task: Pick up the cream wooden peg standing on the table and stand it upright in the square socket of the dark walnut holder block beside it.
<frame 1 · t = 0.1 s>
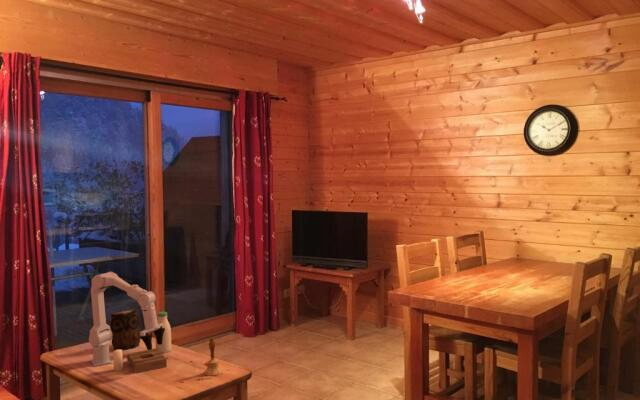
hand: (155, 347, 243), 11 cm above the table, tool pointing down, fingers open, 7 cm apart
hand bell: (213, 373, 239), on the table
cream peg: (118, 369, 244), on the table
milk bottle: (163, 351, 270), on the table
walnut holder: (146, 364, 251), on the table
owl: (126, 347, 277), on the table
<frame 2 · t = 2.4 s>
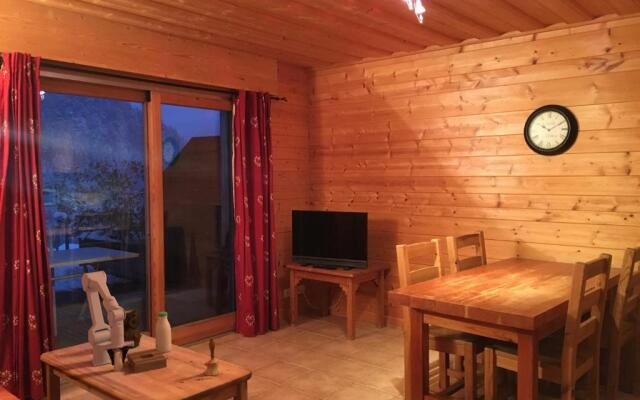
hand: (118, 363, 244), 3 cm above the table, tool pointing down, fingers closed on cream peg, 4 cm apart
cream peg: (118, 369, 244), on the table, touching gripper
everything else where it was.
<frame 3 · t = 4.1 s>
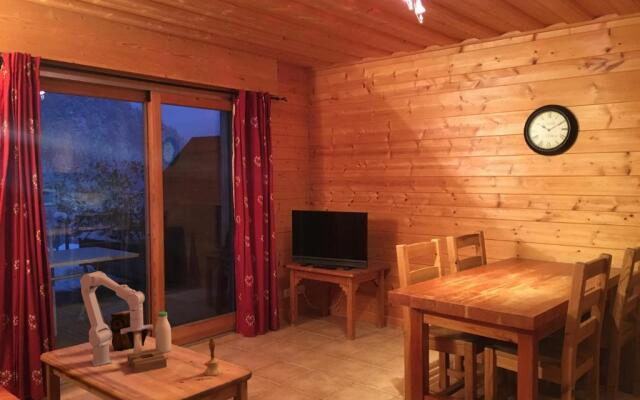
hand: (137, 346, 248), 10 cm above the table, tool pointing down, fingers closed on cream peg, 4 cm apart
cream peg: (137, 352, 248), point 7 cm above the table, touching gripper
everything else where it was.
when the fingers open (5 cm above the table, at t = 6.1 s): cream peg drops 2 cm, resting in walnut holder.
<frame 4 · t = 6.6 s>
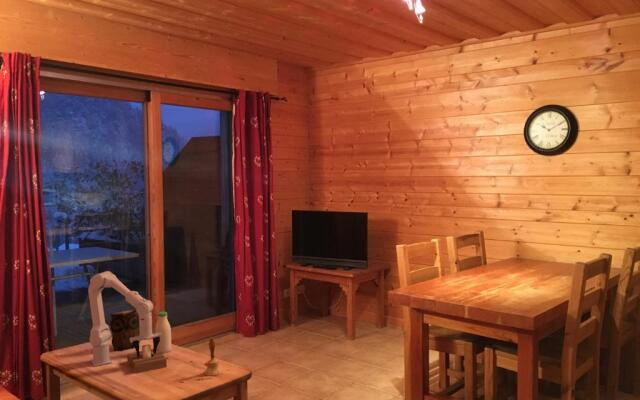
hand: (146, 354, 250), 5 cm above the table, tool pointing down, fingers open, 7 cm apart
cream peg: (146, 364, 250), resting in walnut holder
everything else where it was.
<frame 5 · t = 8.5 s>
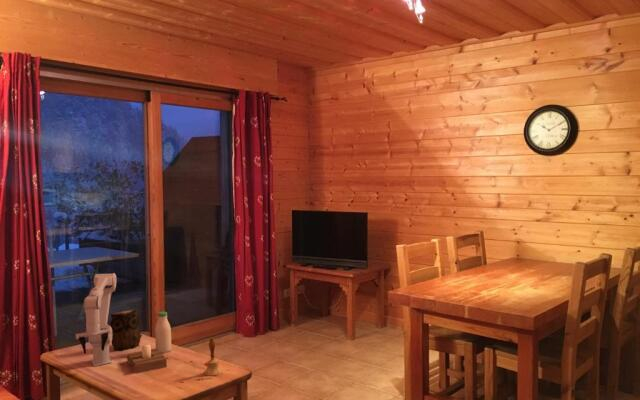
hand: (93, 351, 241), 10 cm above the table, tool pointing down, fingers open, 7 cm apart
nothing on the table moved.
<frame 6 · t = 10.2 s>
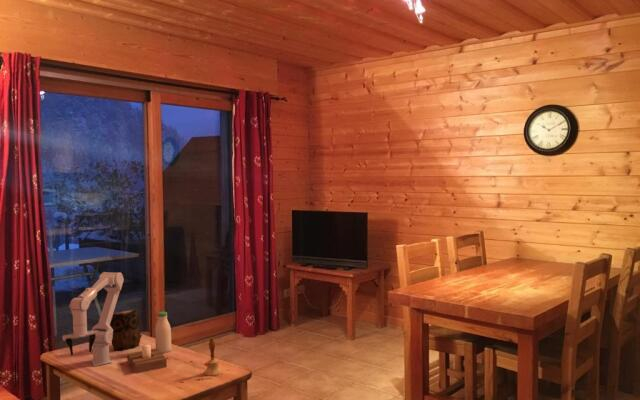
hand: (81, 353, 240), 9 cm above the table, tool pointing down, fingers open, 7 cm apart
nothing on the table moved.
at the end: cream peg 0.1 cm off-centre on the walnut holder, point 0.0 cm above the walnut holder's base; cream peg tilted 0°; the gripper is holding nothing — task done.
